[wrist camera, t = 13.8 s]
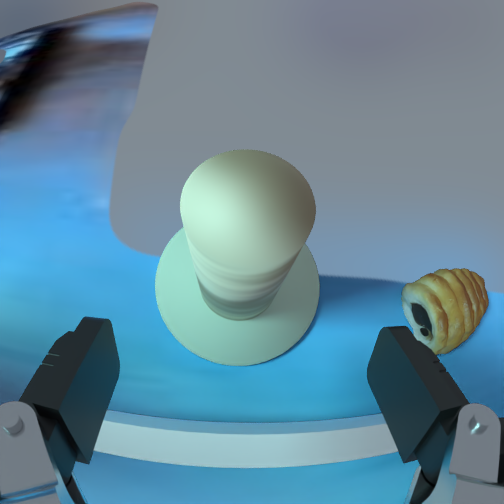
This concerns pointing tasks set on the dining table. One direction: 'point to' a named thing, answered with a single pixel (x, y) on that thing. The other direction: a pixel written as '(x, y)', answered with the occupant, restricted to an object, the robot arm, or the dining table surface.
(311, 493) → the dining table surface
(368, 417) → the wall
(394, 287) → the dining table surface
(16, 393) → the dining table surface
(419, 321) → the pastry
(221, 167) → the dome-topped cylinder
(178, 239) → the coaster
